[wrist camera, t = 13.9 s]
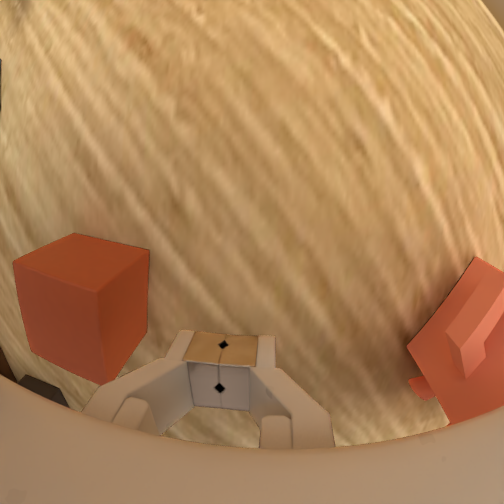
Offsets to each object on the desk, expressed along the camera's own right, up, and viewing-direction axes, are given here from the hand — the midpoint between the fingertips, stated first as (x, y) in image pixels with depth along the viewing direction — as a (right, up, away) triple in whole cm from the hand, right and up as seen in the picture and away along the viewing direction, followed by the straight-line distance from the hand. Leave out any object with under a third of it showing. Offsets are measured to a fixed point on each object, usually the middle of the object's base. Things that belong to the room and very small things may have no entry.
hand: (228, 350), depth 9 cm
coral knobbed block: (+11, -6, +1) cm, 13 cm away
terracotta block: (-6, +2, +4) cm, 8 cm away
